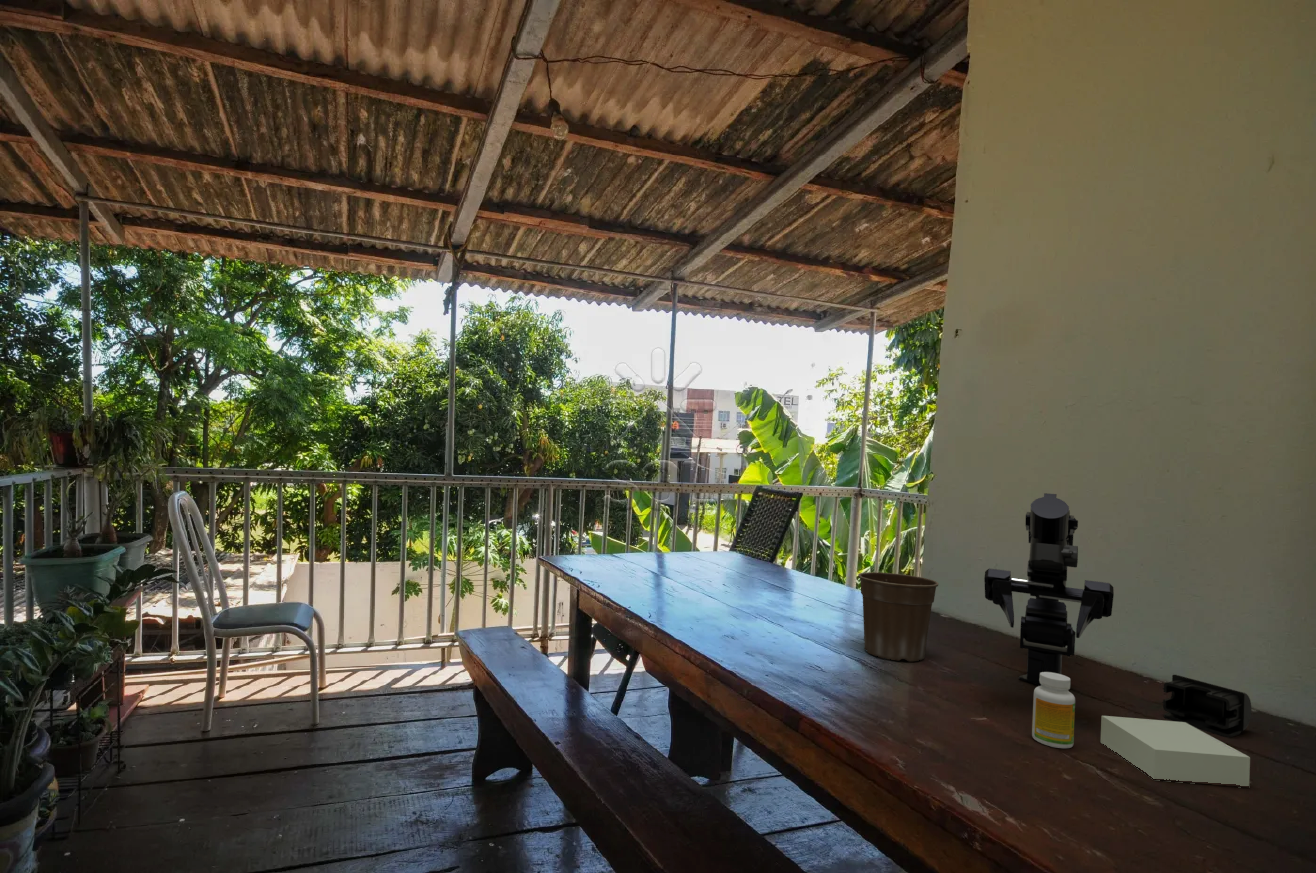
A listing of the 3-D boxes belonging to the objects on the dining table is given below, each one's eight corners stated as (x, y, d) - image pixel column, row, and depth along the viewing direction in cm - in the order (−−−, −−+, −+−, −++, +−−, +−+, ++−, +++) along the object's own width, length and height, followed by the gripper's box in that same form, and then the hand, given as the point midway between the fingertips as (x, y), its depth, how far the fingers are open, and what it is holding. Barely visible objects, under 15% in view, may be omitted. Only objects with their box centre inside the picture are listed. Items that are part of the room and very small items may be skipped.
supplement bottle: (1079, 751, 98) (1082, 683, 98) (1039, 746, 99) (1041, 679, 99) (1065, 737, 103) (1067, 672, 104) (1026, 732, 104) (1029, 668, 105)
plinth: (1100, 742, 102) (1101, 715, 102) (1184, 749, 101) (1184, 722, 101) (1153, 779, 90) (1154, 749, 90) (1249, 788, 89) (1250, 757, 89)
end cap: (1251, 733, 110) (1252, 690, 110) (1232, 739, 107) (1233, 696, 107) (1179, 711, 119) (1180, 672, 119) (1159, 716, 115) (1160, 676, 115)
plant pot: (868, 639, 156) (872, 568, 157) (943, 654, 147) (946, 579, 147) (843, 653, 143) (847, 576, 143) (923, 671, 133) (927, 588, 134)
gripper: (988, 522, 120) (978, 588, 110) (1114, 533, 111) (1118, 607, 100) (989, 565, 126) (980, 632, 116) (1109, 580, 117) (1112, 654, 106)
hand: (1044, 630), depth 109 cm, fingers open, 9 cm apart
